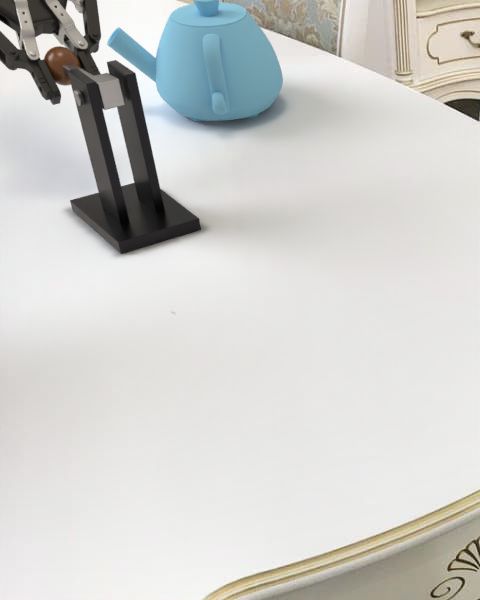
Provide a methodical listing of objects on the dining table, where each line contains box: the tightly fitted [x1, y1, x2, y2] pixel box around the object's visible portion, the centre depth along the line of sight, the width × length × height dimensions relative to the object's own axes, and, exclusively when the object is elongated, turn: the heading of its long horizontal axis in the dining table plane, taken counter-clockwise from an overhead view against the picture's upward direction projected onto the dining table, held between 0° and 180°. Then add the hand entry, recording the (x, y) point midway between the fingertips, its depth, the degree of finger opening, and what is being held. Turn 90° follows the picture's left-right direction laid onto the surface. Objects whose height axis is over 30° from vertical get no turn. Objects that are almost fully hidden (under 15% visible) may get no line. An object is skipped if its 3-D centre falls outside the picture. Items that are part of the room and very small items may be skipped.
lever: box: [43, 45, 125, 111], centre depth 111 cm, size 14×4×4 cm, turn 39°
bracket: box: [68, 59, 202, 254], centre depth 112 cm, size 12×9×15 cm
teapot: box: [106, 0, 284, 123], centre depth 134 cm, size 20×20×13 cm
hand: (76, 94), depth 115 cm, fingers closed on lever, 3 cm apart
